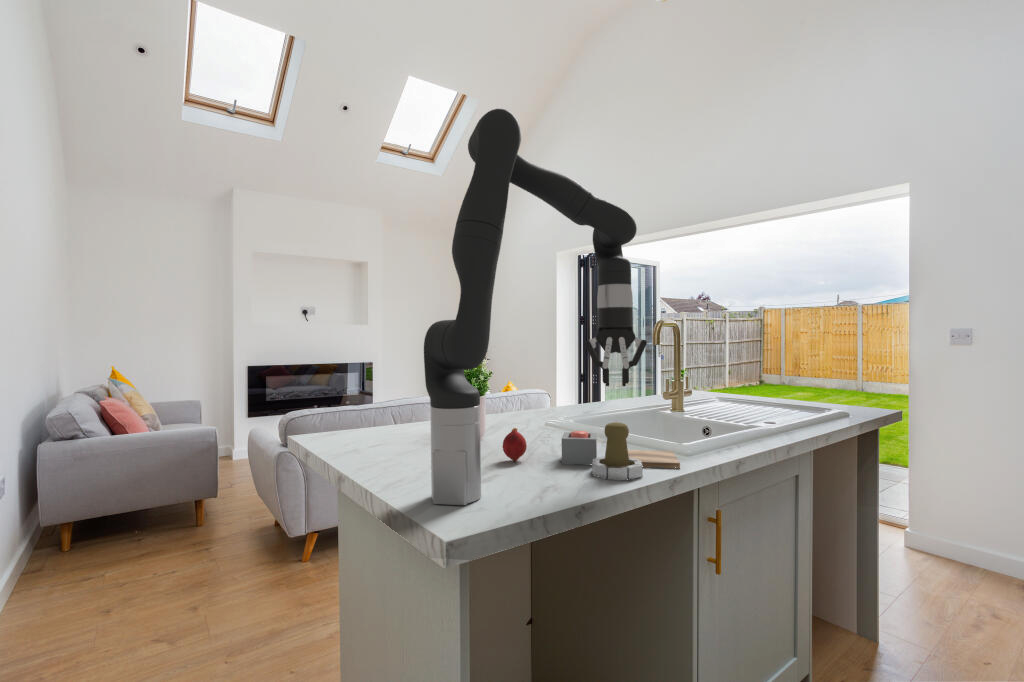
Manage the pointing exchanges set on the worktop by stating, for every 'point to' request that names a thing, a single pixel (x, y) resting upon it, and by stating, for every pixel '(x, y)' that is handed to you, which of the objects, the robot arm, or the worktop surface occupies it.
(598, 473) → the seat ring
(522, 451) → the onion
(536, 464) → the worktop surface
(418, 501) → the worktop surface
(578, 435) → the plunger
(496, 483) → the worktop surface
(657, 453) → the board
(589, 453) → the housing
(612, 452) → the cork
